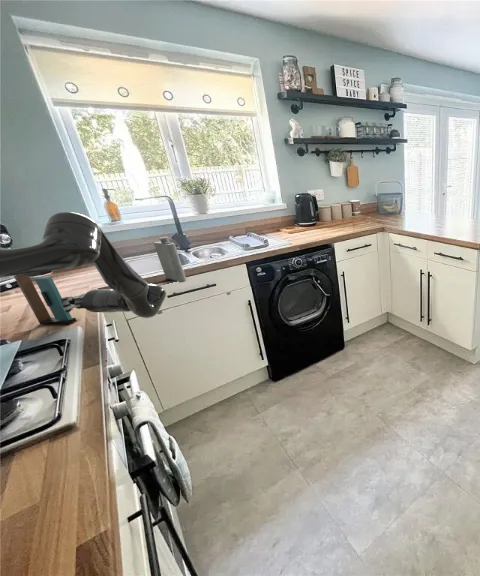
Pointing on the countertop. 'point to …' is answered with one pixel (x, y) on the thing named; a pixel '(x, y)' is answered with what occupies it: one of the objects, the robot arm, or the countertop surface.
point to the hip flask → (169, 260)
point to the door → (52, 298)
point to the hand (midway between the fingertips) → (64, 300)
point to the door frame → (38, 300)
